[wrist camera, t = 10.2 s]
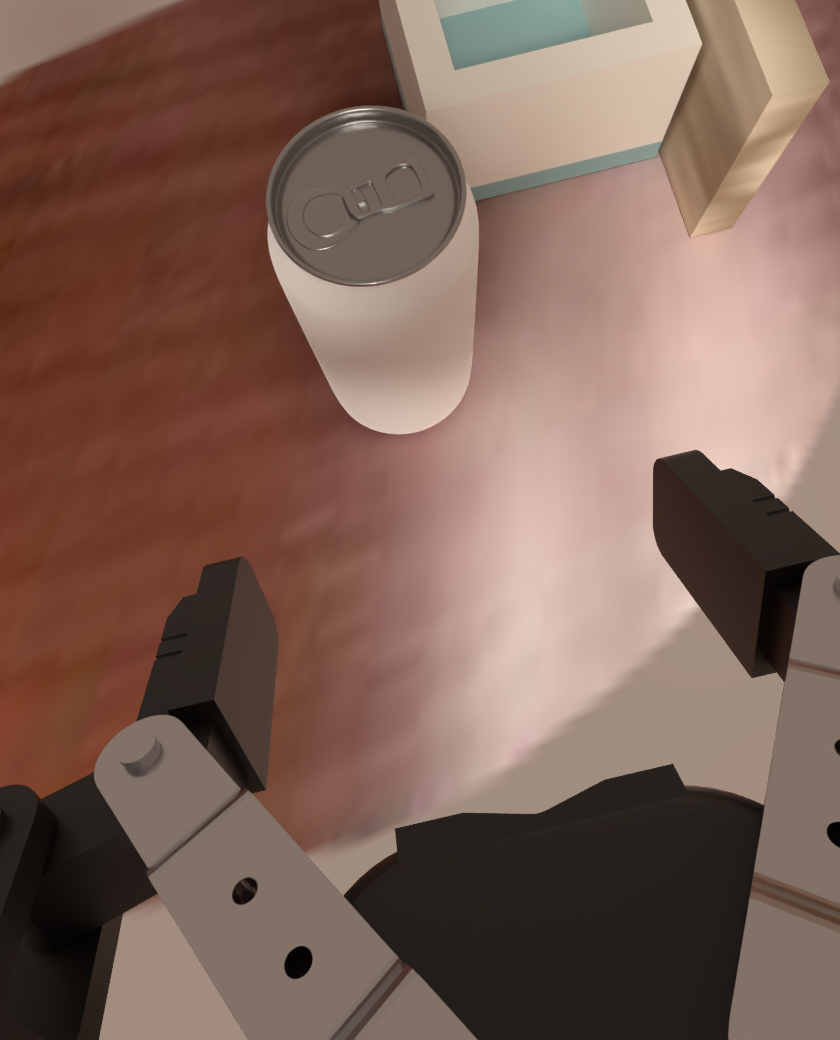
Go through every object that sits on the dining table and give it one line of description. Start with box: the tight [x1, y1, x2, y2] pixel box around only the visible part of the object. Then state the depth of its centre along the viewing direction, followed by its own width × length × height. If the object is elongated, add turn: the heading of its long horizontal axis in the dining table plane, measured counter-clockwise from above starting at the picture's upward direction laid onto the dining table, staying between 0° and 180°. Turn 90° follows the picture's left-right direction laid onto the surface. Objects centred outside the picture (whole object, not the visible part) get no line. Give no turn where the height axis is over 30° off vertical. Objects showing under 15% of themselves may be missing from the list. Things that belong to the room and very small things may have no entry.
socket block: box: [379, 0, 702, 201], centre depth 29 cm, size 11×11×6 cm
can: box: [266, 106, 479, 434], centre depth 24 cm, size 6×6×12 cm
